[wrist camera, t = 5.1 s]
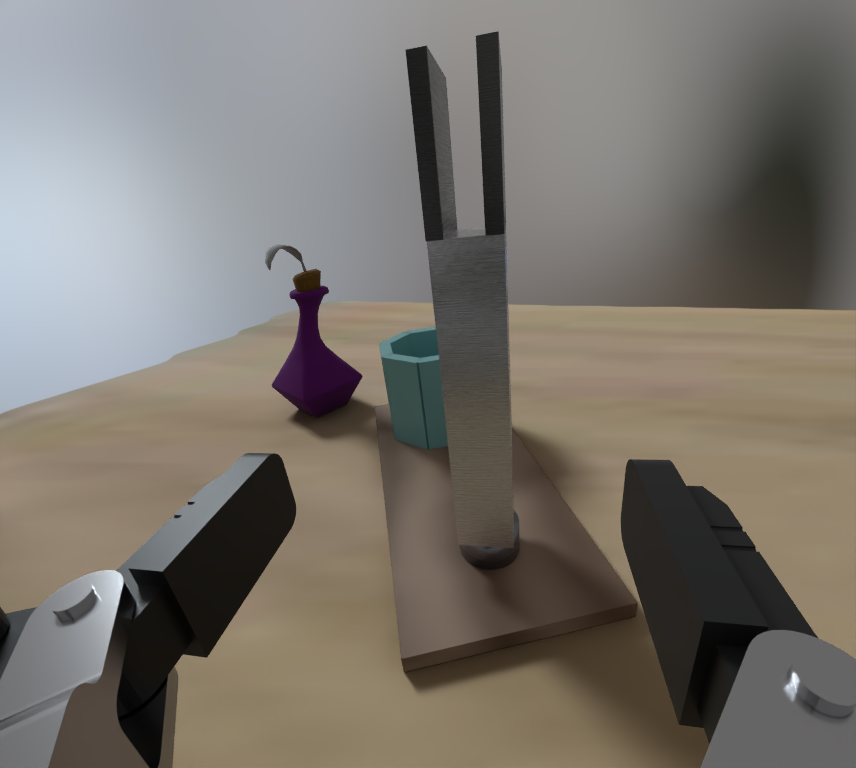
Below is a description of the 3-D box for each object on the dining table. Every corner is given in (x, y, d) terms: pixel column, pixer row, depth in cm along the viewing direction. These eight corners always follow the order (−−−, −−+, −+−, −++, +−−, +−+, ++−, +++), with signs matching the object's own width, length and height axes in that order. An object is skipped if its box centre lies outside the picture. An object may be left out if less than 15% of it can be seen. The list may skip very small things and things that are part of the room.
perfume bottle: (332, 386, 52) (298, 238, 45) (368, 401, 47) (337, 237, 40) (278, 410, 48) (231, 249, 40) (311, 429, 43) (264, 249, 35)
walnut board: (403, 672, 20) (401, 659, 19) (376, 414, 44) (374, 406, 44) (635, 616, 21) (637, 602, 21) (484, 396, 45) (483, 387, 45)
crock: (397, 455, 35) (383, 368, 32) (389, 408, 43) (377, 335, 40) (499, 436, 36) (496, 350, 33) (472, 393, 44) (467, 321, 41)
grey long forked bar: (455, 573, 23) (397, 51, 14) (463, 518, 27) (422, 81, 17) (520, 578, 23) (507, 29, 13) (519, 520, 27) (509, 66, 17)
